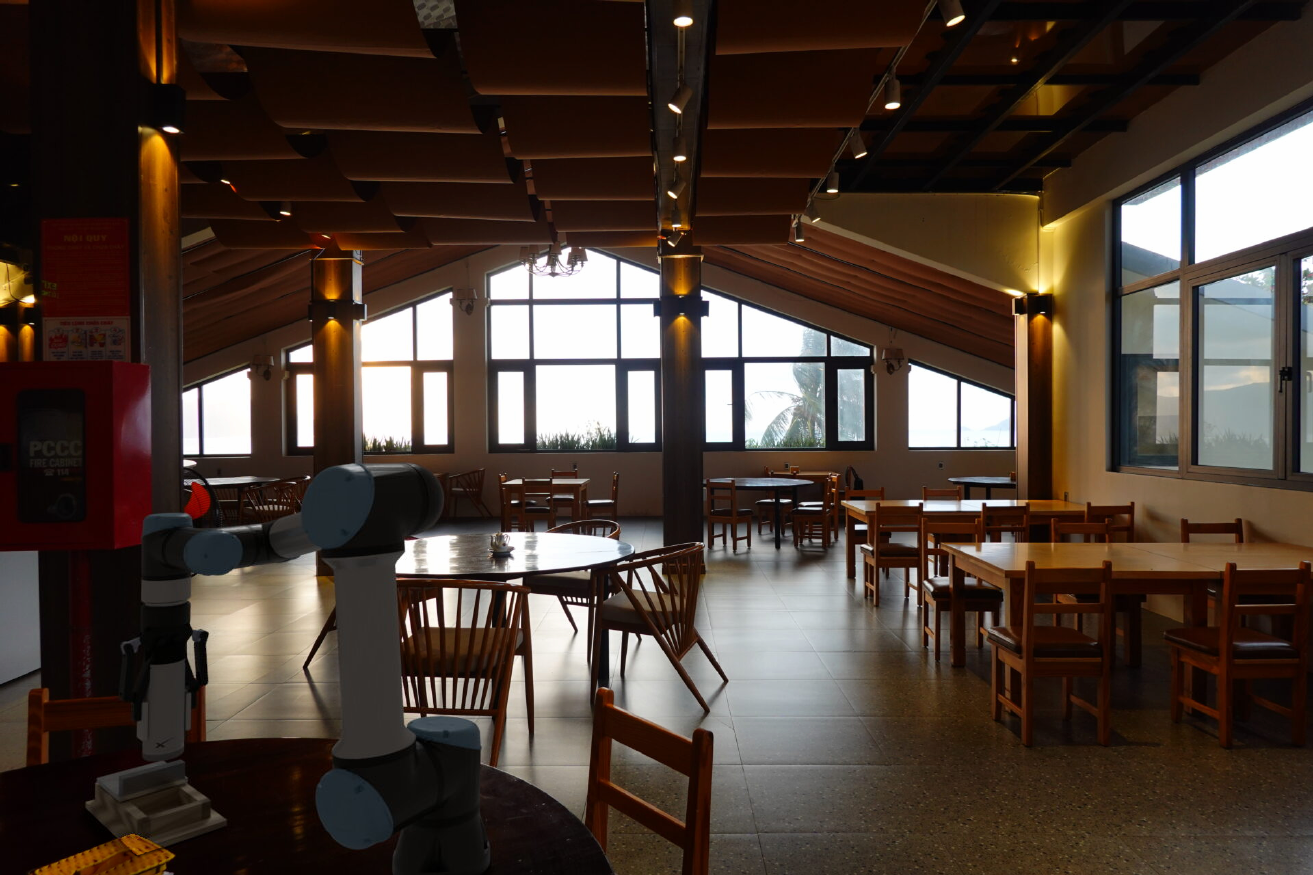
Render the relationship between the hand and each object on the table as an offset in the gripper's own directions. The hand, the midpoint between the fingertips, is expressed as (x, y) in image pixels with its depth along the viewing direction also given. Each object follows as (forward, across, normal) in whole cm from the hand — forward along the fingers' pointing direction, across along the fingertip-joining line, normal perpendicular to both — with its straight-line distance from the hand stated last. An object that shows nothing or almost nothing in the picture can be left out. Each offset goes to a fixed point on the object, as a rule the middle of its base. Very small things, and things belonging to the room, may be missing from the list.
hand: (164, 732), depth 144 cm
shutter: (+12, 0, -10) cm, 15 cm away
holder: (+16, 0, -4) cm, 16 cm away
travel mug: (+4, 0, 0) cm, 4 cm away
